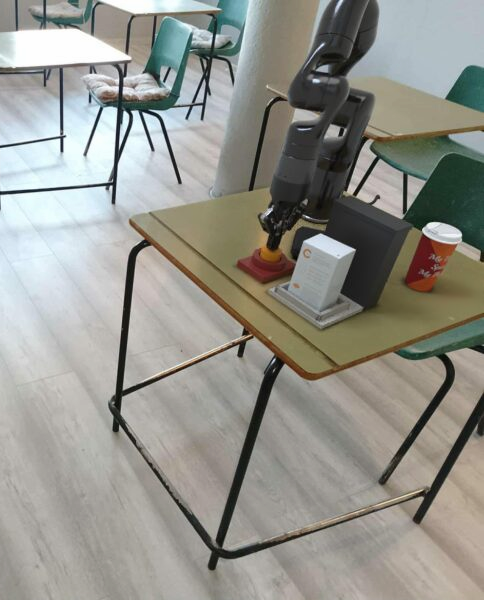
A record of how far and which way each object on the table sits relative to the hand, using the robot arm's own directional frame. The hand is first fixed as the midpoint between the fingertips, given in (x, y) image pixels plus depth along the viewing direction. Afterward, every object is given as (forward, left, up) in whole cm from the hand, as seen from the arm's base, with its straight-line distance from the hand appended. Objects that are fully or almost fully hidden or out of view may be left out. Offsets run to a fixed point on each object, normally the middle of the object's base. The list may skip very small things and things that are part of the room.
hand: (271, 248), depth 125 cm
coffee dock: (-2, +14, -5) cm, 15 cm away
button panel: (0, 0, -5) cm, 5 cm away
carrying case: (-17, 0, -6) cm, 18 cm away
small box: (+2, +14, -5) cm, 15 cm away
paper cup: (-27, +21, -6) cm, 35 cm away
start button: (0, 0, -2) cm, 2 cm away
